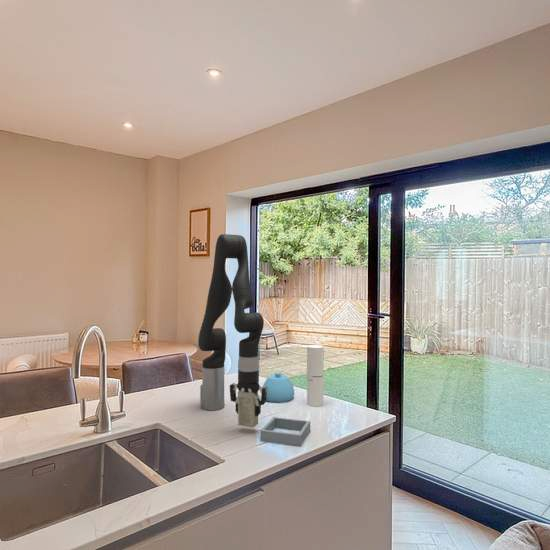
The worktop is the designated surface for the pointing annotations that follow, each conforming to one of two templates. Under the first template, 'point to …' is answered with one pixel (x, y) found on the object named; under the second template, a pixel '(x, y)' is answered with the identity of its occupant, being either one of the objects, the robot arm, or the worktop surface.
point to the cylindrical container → (315, 375)
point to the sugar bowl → (278, 388)
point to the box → (283, 437)
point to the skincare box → (247, 409)
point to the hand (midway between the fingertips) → (248, 414)
